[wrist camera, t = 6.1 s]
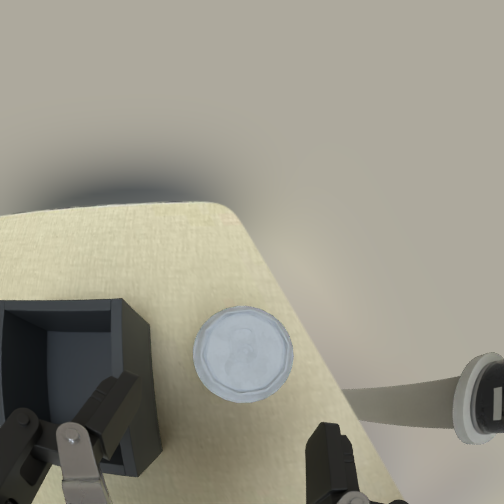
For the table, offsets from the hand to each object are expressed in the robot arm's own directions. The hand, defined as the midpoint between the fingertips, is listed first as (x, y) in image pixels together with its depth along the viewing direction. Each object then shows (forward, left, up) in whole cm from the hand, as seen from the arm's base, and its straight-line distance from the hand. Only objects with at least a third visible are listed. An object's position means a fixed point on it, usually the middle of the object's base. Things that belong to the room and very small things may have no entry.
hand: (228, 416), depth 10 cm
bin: (+12, -1, -12) cm, 17 cm away
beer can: (-1, -3, -12) cm, 12 cm away
